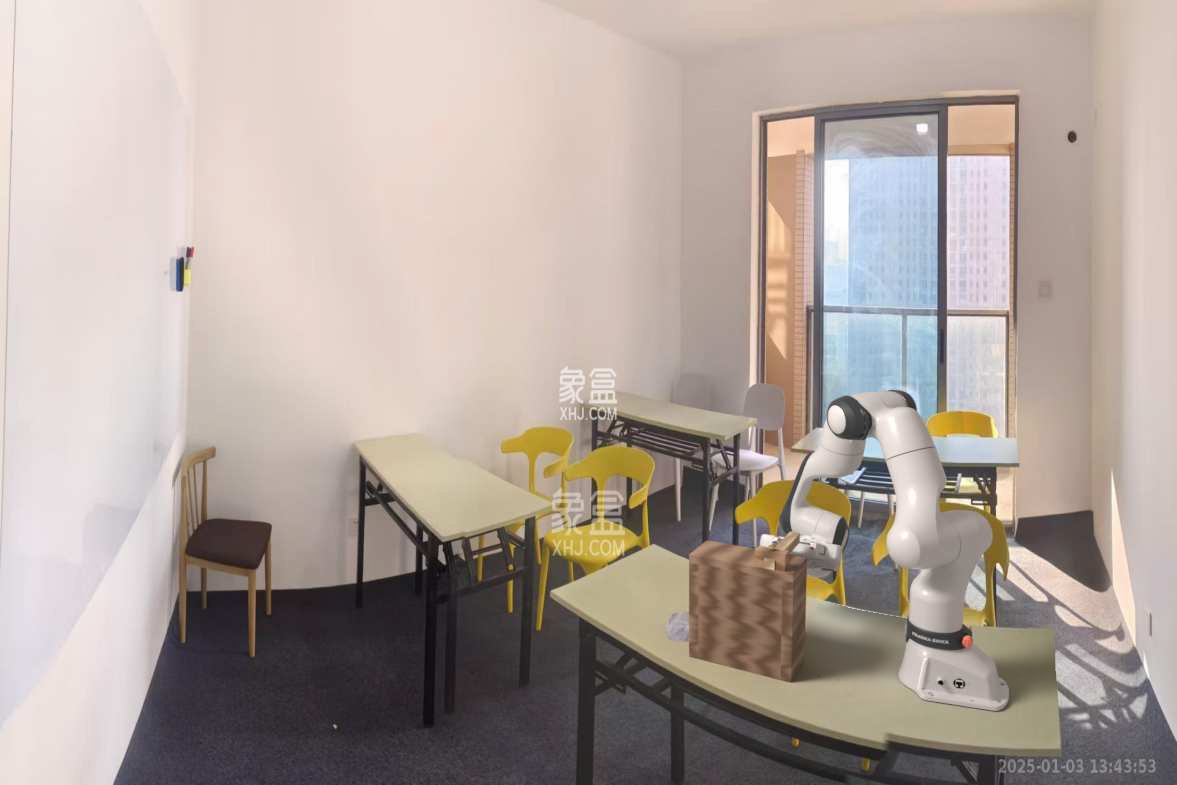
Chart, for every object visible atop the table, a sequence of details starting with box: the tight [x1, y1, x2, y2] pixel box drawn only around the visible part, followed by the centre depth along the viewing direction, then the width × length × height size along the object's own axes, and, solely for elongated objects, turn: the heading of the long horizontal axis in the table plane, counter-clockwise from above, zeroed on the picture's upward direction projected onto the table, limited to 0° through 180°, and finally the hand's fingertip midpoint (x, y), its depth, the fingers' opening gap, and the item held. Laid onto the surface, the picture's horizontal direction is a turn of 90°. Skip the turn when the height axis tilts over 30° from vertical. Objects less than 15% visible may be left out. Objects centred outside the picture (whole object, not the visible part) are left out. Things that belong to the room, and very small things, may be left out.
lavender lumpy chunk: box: [665, 610, 689, 643], centre depth 203 cm, size 12×5×10 cm
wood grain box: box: [688, 540, 808, 683], centre depth 186 cm, size 25×11×26 cm, turn 59°
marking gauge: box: [755, 532, 800, 572], centre depth 184 cm, size 7×20×5 cm, turn 149°
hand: (793, 542), depth 191 cm, fingers open, 8 cm apart
